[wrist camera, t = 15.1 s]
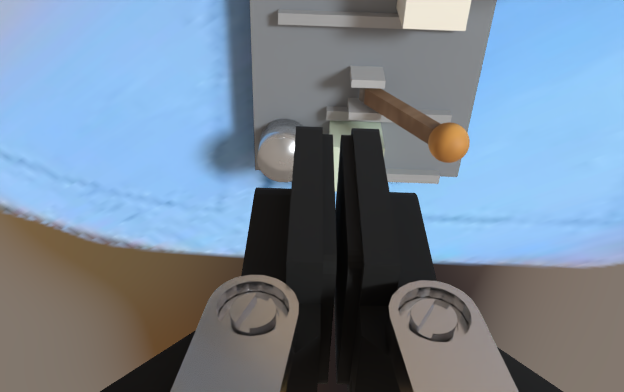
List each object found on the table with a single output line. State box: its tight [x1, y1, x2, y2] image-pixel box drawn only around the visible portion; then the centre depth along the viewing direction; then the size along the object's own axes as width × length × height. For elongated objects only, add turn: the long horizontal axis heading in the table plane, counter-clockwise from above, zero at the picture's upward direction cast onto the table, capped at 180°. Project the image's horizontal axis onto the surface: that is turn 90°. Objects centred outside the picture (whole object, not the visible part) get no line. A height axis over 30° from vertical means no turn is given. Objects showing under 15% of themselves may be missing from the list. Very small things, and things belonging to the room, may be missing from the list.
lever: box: [359, 88, 469, 163], centre depth 39 cm, size 3×3×10 cm
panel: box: [250, 0, 497, 184], centre depth 42 cm, size 20×17×4 cm
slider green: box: [329, 120, 385, 191], centre depth 44 cm, size 4×4×4 cm
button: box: [257, 119, 303, 182], centre depth 45 cm, size 4×4×3 cm
